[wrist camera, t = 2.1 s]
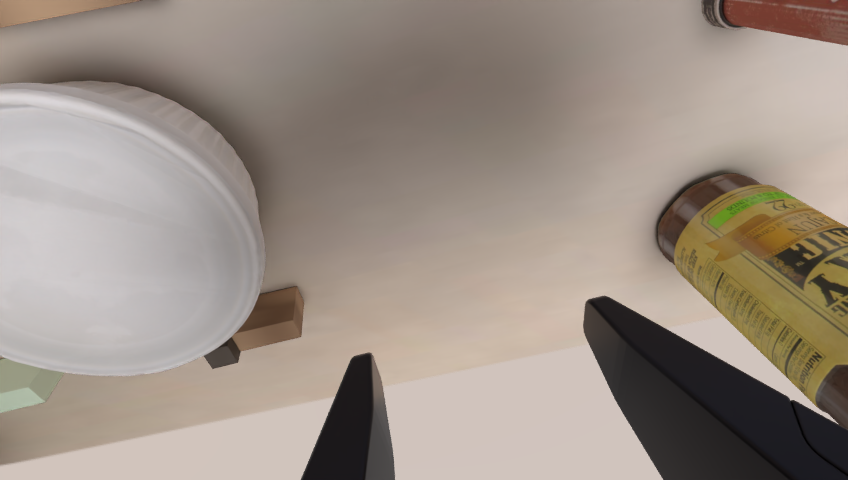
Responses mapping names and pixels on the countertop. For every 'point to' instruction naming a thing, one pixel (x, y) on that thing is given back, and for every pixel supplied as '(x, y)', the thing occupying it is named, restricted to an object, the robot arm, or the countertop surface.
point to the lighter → (783, 17)
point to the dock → (24, 385)
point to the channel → (273, 312)
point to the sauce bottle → (769, 277)
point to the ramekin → (120, 231)
